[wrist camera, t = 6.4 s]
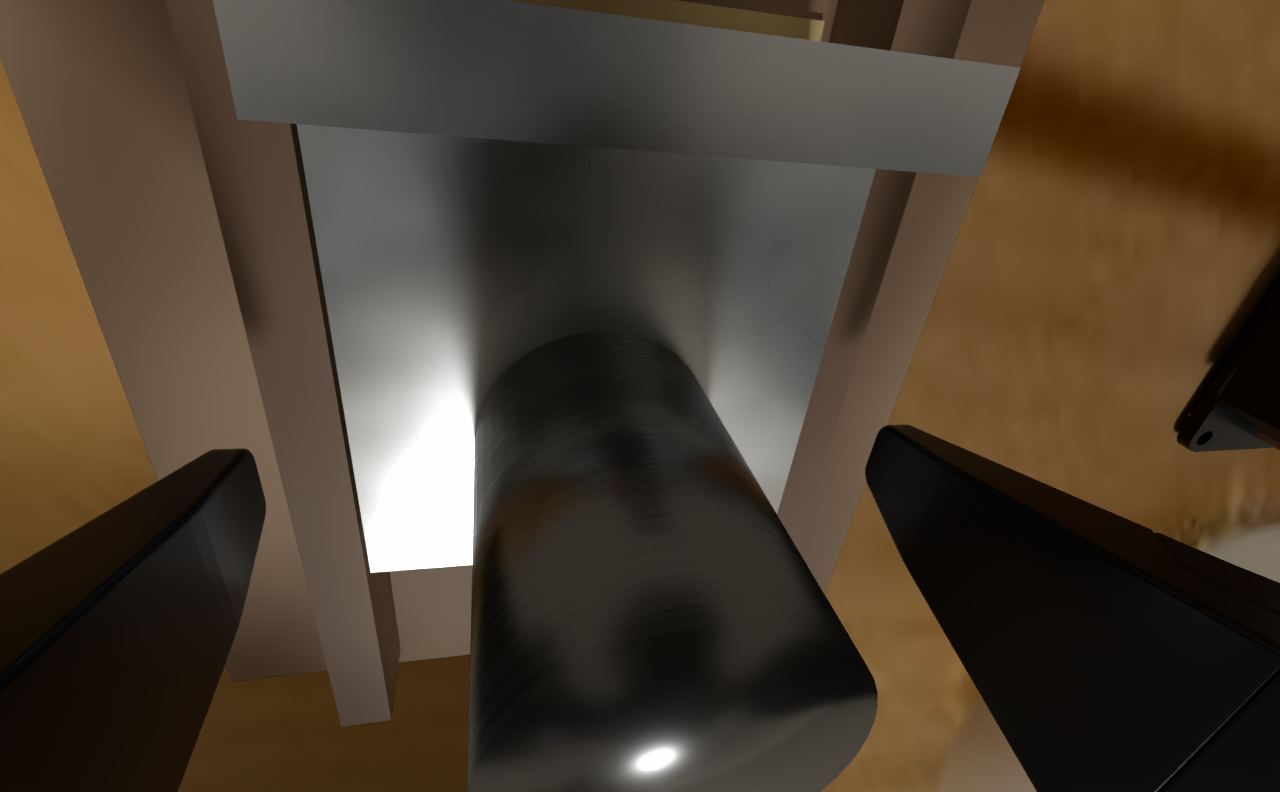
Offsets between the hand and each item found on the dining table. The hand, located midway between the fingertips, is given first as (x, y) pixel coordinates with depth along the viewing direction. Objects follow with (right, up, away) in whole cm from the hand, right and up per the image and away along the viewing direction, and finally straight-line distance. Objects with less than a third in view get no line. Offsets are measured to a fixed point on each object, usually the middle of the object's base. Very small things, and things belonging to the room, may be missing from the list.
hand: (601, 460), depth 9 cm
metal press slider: (-1, +3, +2) cm, 3 cm away
